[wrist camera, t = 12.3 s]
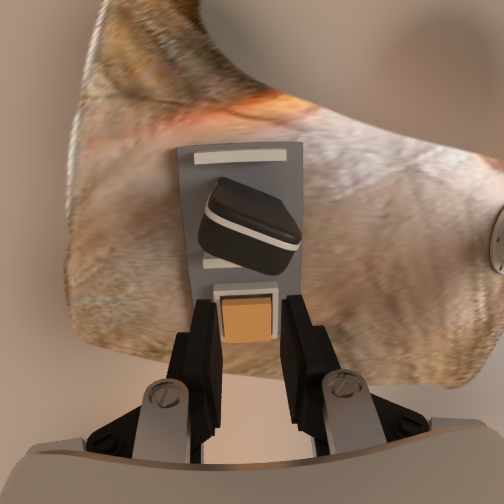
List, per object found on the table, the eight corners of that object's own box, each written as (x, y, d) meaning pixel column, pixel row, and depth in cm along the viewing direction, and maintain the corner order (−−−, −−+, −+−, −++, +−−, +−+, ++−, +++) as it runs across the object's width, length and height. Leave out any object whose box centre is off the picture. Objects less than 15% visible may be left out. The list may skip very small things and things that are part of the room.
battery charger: (204, 209, 30) (186, 256, 19) (218, 173, 28) (206, 201, 18) (269, 234, 31) (285, 291, 21) (284, 200, 30) (311, 242, 19)
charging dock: (299, 142, 29) (308, 144, 25) (295, 325, 38) (300, 346, 34) (179, 146, 29) (171, 149, 25) (199, 330, 37) (196, 351, 33)
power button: (270, 297, 32) (271, 303, 31) (270, 334, 34) (271, 341, 33) (222, 299, 32) (221, 305, 31) (225, 336, 34) (225, 343, 33)
